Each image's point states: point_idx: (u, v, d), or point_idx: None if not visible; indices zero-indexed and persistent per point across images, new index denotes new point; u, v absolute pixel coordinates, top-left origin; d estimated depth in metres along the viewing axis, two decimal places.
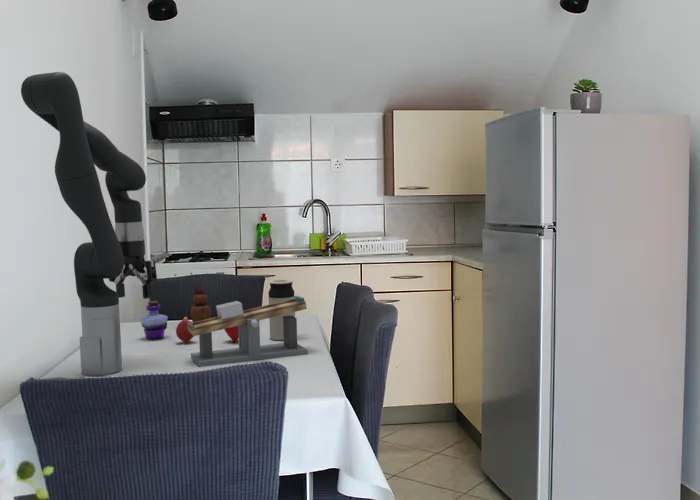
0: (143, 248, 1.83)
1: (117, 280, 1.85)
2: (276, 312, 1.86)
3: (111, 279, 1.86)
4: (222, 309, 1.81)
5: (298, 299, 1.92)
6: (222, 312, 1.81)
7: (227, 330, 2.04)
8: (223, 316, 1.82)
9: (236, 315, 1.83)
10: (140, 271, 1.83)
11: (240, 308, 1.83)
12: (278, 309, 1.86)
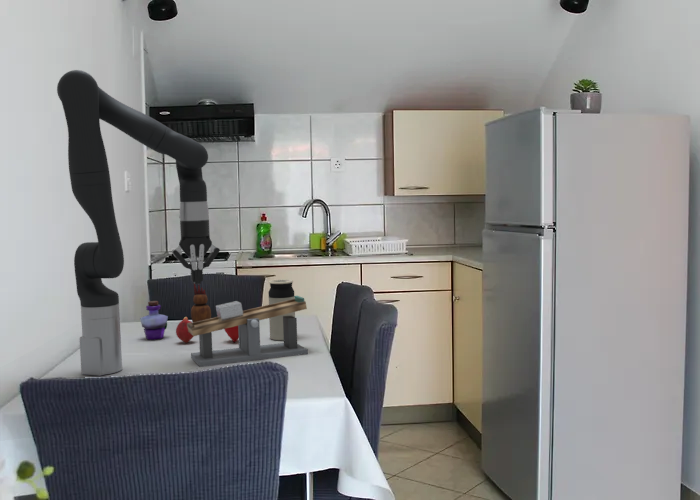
0: None
1: (194, 265, 1.79)
2: (276, 312, 1.86)
3: (188, 265, 1.78)
4: (222, 309, 1.81)
5: (298, 299, 1.92)
6: (222, 312, 1.81)
7: (227, 330, 2.04)
8: (223, 316, 1.81)
9: (235, 315, 1.83)
10: None
11: (240, 308, 1.83)
12: (278, 309, 1.86)
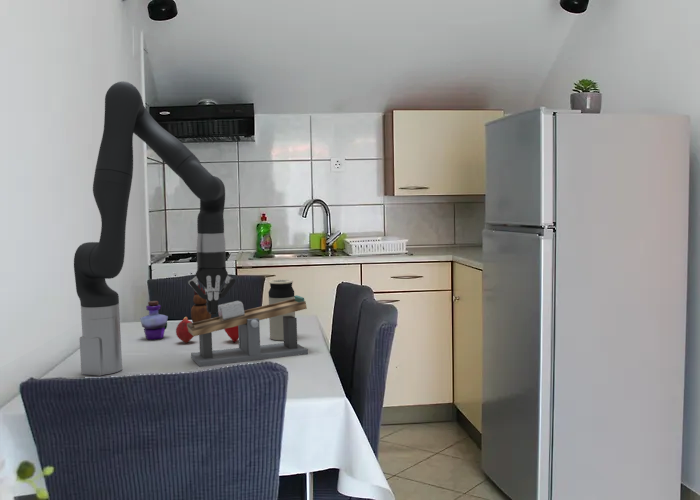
0: None
1: (210, 295, 1.81)
2: (276, 312, 1.86)
3: (204, 295, 1.81)
4: (223, 309, 1.81)
5: (298, 299, 1.92)
6: (223, 312, 1.82)
7: (227, 330, 2.04)
8: (224, 316, 1.82)
9: (237, 314, 1.83)
10: None
11: (241, 308, 1.83)
12: (278, 309, 1.86)
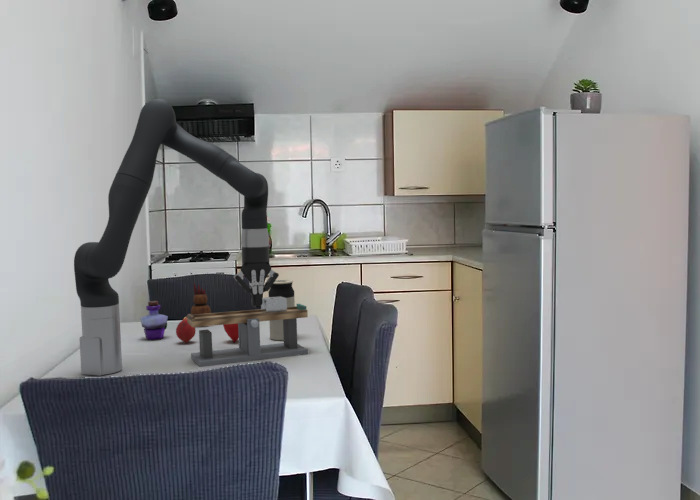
0: None
1: (255, 289, 1.86)
2: (277, 315, 1.86)
3: (249, 289, 1.85)
4: (268, 301, 1.87)
5: (300, 307, 1.93)
6: (267, 304, 1.87)
7: (227, 330, 2.04)
8: (267, 308, 1.87)
9: (280, 309, 1.88)
10: None
11: (284, 303, 1.89)
12: (279, 313, 1.86)
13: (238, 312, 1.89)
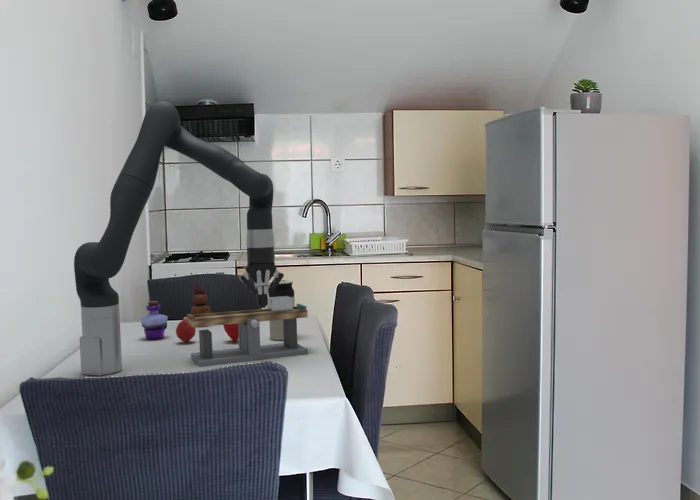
0: None
1: (260, 290, 1.87)
2: (277, 315, 1.86)
3: (254, 289, 1.86)
4: (274, 301, 1.87)
5: (300, 307, 1.93)
6: (273, 304, 1.87)
7: (227, 330, 2.04)
8: (273, 308, 1.87)
9: (286, 308, 1.89)
10: None
11: (290, 303, 1.89)
12: (279, 313, 1.86)
13: (238, 312, 1.89)
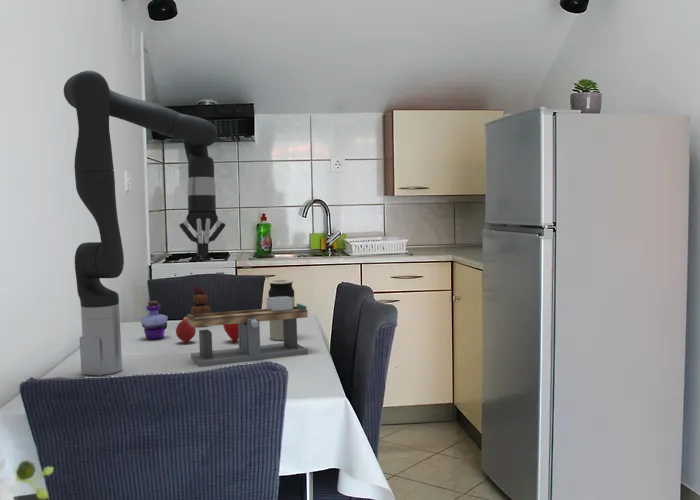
0: None
1: (200, 238, 1.85)
2: (277, 315, 1.86)
3: (194, 238, 1.85)
4: (273, 301, 1.87)
5: (300, 307, 1.93)
6: (273, 304, 1.87)
7: (227, 330, 2.04)
8: (273, 308, 1.87)
9: (285, 308, 1.89)
10: None
11: (290, 303, 1.89)
12: (279, 313, 1.86)
13: (238, 312, 1.89)
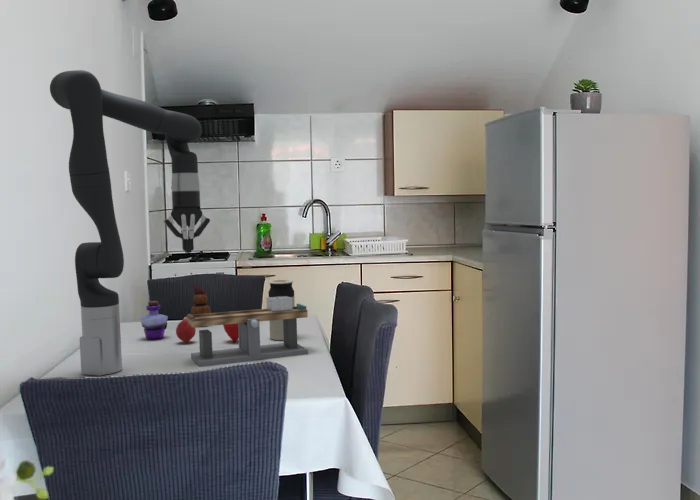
0: None
1: (185, 234, 1.86)
2: (277, 315, 1.86)
3: (179, 234, 1.85)
4: (273, 301, 1.87)
5: (300, 307, 1.93)
6: (273, 304, 1.87)
7: (227, 330, 2.04)
8: (273, 308, 1.87)
9: (285, 308, 1.89)
10: None
11: (290, 303, 1.89)
12: (279, 313, 1.86)
13: (238, 312, 1.89)
